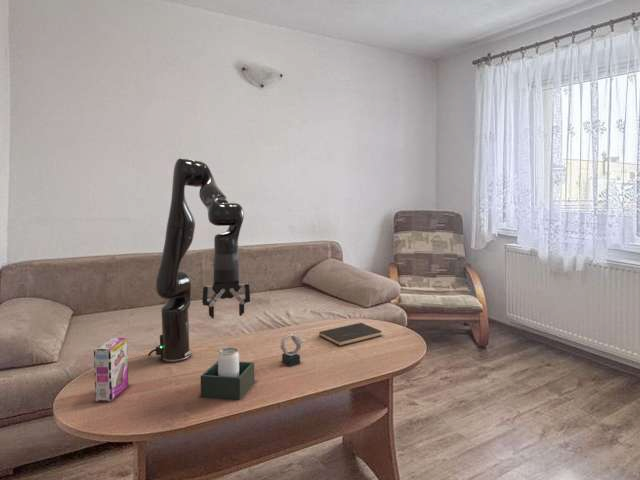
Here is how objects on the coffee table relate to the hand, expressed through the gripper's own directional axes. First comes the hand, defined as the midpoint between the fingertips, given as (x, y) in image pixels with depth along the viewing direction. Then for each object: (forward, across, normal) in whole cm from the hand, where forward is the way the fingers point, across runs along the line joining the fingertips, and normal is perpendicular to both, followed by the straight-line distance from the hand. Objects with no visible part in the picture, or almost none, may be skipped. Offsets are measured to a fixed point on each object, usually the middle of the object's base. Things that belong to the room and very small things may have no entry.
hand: (226, 316), depth 140 cm
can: (+24, 0, 0) cm, 24 cm away
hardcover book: (+24, -56, -33) cm, 70 cm away
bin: (+24, 0, +1) cm, 24 cm away
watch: (+24, -24, -13) cm, 37 cm away
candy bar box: (+25, +33, -9) cm, 42 cm away
